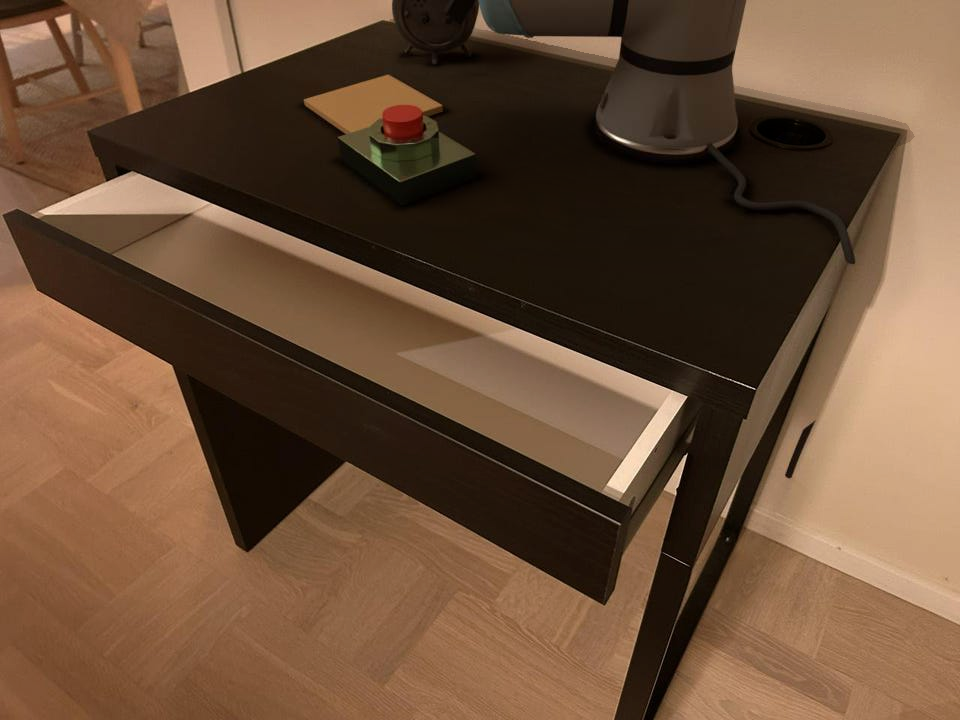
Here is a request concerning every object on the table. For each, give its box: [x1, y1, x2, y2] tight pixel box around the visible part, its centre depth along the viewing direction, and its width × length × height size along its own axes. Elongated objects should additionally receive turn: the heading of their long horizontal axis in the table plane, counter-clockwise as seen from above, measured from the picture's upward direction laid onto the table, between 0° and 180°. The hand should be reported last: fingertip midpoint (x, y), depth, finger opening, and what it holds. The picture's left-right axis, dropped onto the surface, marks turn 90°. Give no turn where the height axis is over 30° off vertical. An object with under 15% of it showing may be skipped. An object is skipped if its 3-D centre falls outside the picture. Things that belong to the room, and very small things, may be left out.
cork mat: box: [303, 74, 444, 135], centre depth 89 cm, size 12×12×1 cm
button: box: [382, 105, 424, 139], centre depth 75 cm, size 4×4×2 cm
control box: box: [337, 116, 477, 207], centre depth 77 cm, size 12×9×4 cm
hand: (420, 4), depth 95 cm, fingers open, 13 cm apart
